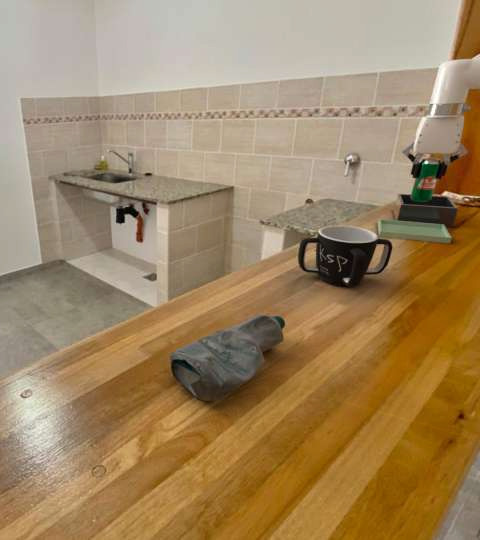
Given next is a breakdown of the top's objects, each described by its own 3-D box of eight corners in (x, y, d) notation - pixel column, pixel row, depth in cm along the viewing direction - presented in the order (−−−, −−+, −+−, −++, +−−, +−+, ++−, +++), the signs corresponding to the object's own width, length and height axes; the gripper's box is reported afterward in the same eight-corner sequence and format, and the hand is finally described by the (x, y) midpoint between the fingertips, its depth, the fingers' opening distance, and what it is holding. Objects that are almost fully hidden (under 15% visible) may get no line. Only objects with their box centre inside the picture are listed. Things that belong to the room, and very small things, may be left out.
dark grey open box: (443, 214, 133) (449, 196, 130) (451, 228, 121) (458, 208, 118) (393, 211, 140) (397, 193, 137) (396, 223, 128) (401, 204, 125)
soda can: (414, 202, 113) (425, 160, 108) (406, 198, 117) (417, 157, 112) (434, 202, 111) (446, 160, 106) (425, 198, 116) (437, 157, 111)
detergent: (210, 420, 55) (314, 354, 67) (208, 380, 53) (316, 318, 64) (155, 377, 66) (253, 326, 77) (152, 342, 63) (253, 295, 75)
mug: (287, 275, 97) (293, 230, 92) (329, 261, 103) (337, 218, 98) (348, 302, 83) (359, 251, 78) (392, 283, 90) (405, 235, 85)
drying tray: (442, 229, 120) (444, 224, 119) (450, 243, 109) (451, 237, 109) (377, 224, 128) (379, 219, 127) (379, 236, 117) (380, 231, 117)
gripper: (482, 109, 103) (461, 176, 110) (405, 111, 111) (390, 174, 118) (489, 110, 97) (466, 182, 104) (407, 112, 105) (392, 179, 113)
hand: (426, 177), depth 111 cm, fingers closed on soda can, 5 cm apart
